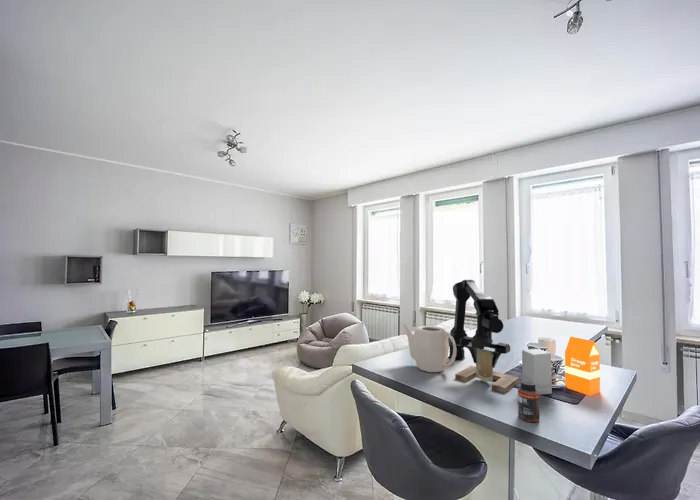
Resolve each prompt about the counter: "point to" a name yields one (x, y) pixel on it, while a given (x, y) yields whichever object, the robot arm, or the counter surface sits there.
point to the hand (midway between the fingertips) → (484, 365)
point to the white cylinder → (548, 344)
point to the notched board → (501, 384)
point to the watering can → (430, 347)
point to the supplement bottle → (528, 402)
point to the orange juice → (582, 366)
